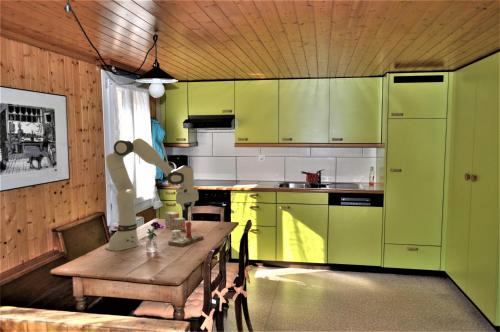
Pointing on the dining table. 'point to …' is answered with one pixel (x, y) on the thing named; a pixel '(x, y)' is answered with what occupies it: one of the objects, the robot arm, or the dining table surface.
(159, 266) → the dining table surface
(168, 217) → the stack of blocks
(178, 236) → the die
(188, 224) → the pawn
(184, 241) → the board
